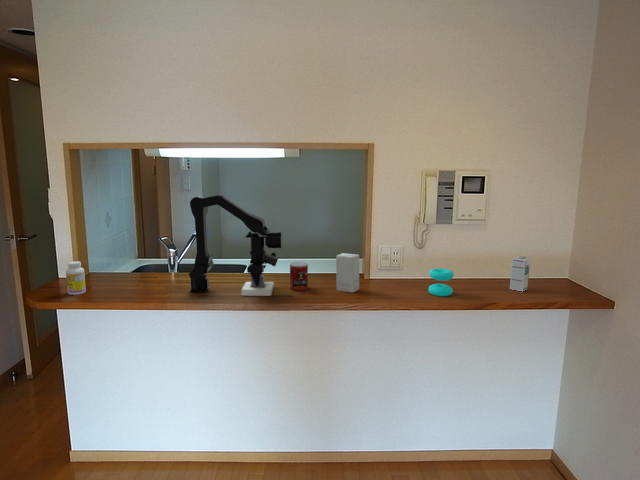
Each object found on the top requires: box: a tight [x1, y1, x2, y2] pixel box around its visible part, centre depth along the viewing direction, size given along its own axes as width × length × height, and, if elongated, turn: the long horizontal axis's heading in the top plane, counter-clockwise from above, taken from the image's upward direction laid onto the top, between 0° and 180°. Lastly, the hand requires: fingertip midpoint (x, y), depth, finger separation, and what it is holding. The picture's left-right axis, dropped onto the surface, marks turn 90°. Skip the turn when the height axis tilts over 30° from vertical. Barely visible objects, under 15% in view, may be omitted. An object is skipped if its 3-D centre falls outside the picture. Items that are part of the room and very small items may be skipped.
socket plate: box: [241, 281, 275, 297], centre depth 187 cm, size 12×12×2 cm
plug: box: [250, 273, 266, 288], centre depth 186 cm, size 5×4×5 cm
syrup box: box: [509, 255, 531, 293], centre depth 192 cm, size 6×6×14 cm
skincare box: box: [335, 252, 360, 293], centre depth 189 cm, size 8×7×16 cm
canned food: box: [289, 261, 309, 292], centre depth 191 cm, size 8×8×11 cm
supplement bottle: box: [65, 260, 87, 296], centre depth 181 cm, size 7×7×13 cm
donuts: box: [427, 268, 455, 297], centre depth 186 cm, size 10×10×10 cm
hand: (257, 284), depth 186 cm, fingers closed on plug, 4 cm apart
